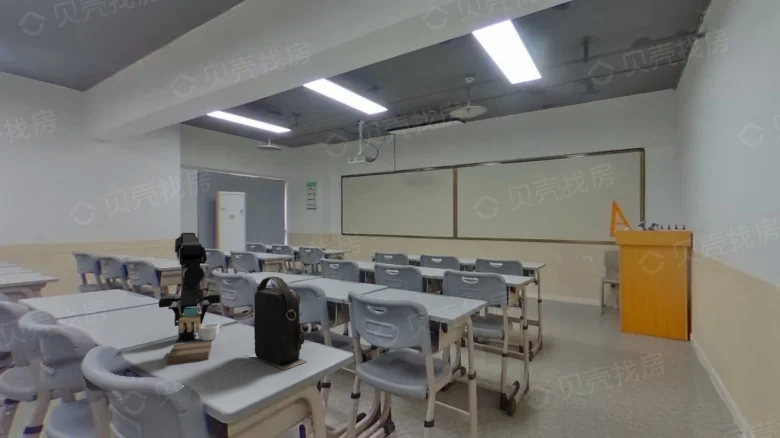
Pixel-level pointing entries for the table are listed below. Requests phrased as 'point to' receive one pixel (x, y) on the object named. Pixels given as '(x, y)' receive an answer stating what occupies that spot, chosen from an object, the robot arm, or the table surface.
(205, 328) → the teacup
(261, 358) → the shoulder bag
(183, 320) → the pallet
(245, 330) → the table surface
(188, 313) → the teal square block
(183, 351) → the block
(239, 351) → the table surface
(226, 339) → the table surface
